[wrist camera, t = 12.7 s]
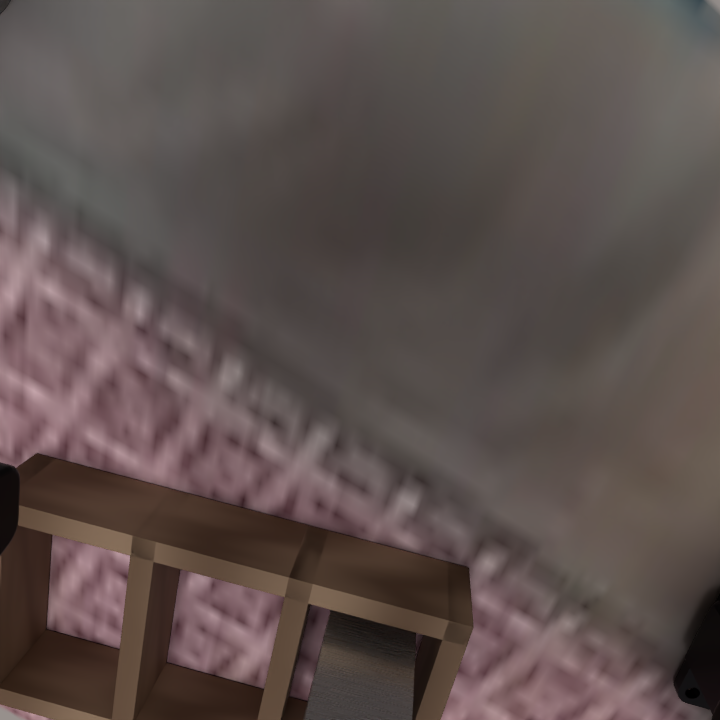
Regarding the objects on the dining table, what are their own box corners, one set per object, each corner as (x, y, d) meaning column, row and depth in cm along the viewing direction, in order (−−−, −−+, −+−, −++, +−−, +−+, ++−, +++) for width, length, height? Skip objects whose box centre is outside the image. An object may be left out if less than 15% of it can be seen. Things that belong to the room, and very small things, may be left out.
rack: (469, 567, 22) (473, 627, 19) (406, 752, 25) (402, 826, 23) (36, 453, 23) (-21, 494, 20) (27, 646, 26) (-23, 705, 23)
